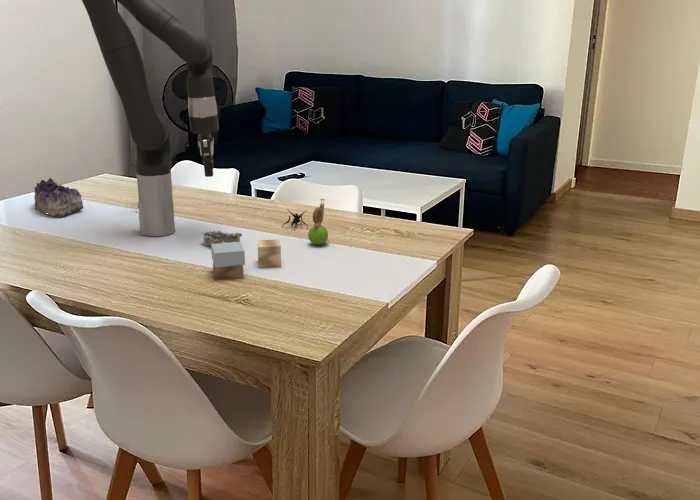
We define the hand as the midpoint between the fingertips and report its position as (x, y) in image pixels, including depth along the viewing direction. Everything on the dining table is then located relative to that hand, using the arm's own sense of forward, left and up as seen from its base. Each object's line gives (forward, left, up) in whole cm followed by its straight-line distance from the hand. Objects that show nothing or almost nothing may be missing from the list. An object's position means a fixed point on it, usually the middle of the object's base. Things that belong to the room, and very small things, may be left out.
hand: (209, 172), depth 200 cm
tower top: (+5, -33, -14) cm, 36 cm away
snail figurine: (+29, -13, -18) cm, 36 cm away
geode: (-49, +30, -18) cm, 60 cm away
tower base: (+5, -33, -18) cm, 38 cm away
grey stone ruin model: (+3, -11, -18) cm, 21 cm away
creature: (+24, +3, -18) cm, 30 cm away
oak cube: (+15, -27, -18) cm, 35 cm away
